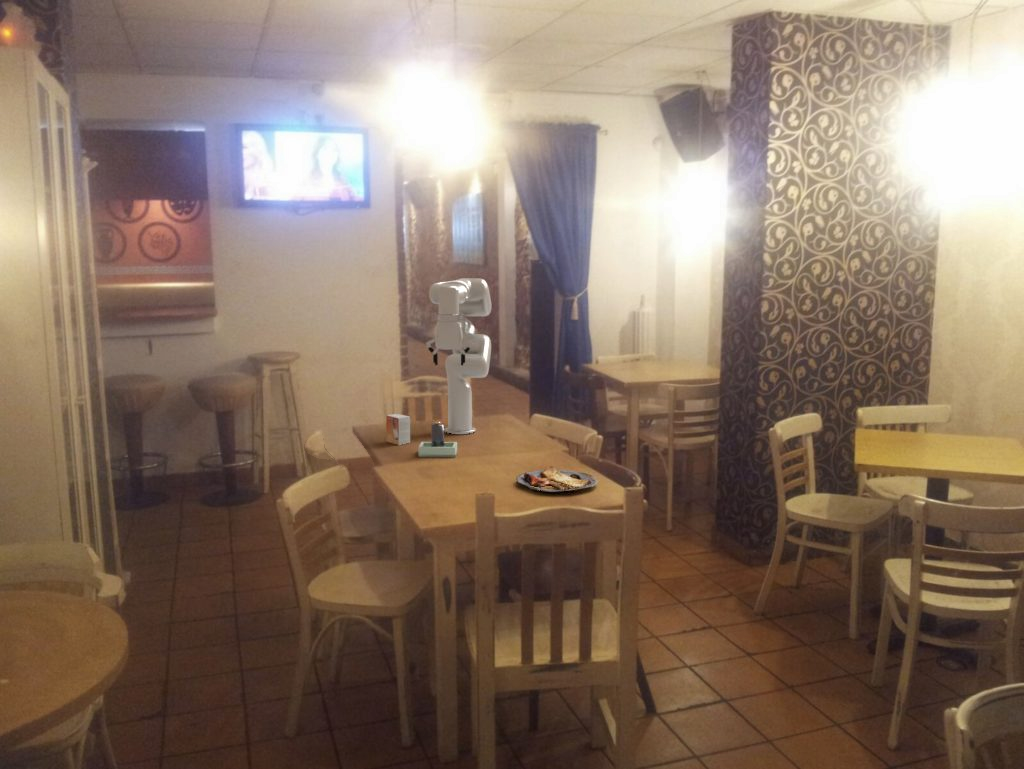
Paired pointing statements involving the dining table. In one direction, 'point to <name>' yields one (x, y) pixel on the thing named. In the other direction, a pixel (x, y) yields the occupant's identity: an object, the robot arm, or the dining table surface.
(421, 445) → the trough
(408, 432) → the small box
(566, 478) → the food plate
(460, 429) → the robot arm
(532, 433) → the dining table surface
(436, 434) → the cylinder
